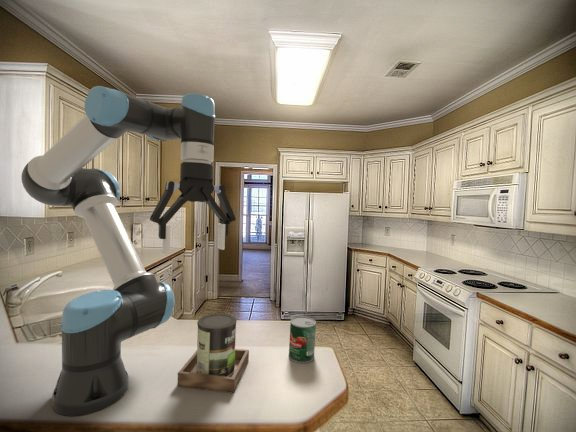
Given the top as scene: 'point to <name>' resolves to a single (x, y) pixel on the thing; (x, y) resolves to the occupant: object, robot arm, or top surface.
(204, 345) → the coffee can
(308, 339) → the canned tomato
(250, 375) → the top surface
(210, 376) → the tray
